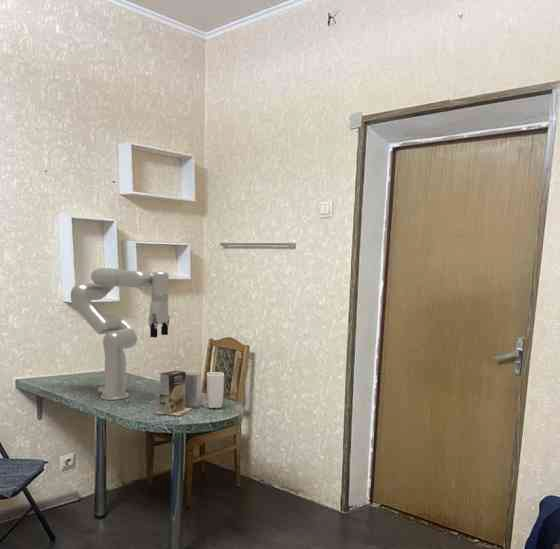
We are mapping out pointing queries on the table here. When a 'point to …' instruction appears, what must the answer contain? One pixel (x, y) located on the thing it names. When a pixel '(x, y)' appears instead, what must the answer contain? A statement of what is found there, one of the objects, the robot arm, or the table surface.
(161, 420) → the table surface
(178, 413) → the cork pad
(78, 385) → the table surface
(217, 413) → the table surface
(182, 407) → the coffee box
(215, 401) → the cup
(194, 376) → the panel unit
